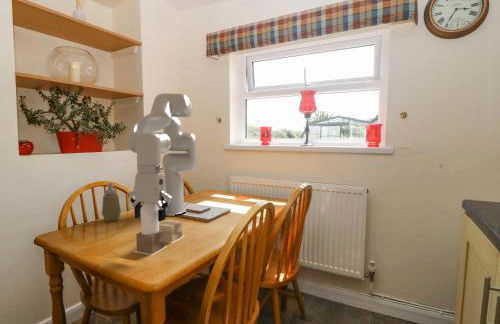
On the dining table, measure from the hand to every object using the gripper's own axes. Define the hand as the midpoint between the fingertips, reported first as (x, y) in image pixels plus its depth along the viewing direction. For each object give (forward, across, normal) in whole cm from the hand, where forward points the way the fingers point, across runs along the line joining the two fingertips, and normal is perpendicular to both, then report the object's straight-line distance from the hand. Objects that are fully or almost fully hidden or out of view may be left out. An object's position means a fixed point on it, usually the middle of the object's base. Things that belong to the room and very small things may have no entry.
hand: (150, 218), depth 96 cm
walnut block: (+11, 0, 0) cm, 11 cm away
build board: (+12, 0, -6) cm, 13 cm away
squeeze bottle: (+12, +42, -24) cm, 50 cm away
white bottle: (+5, 0, 0) cm, 5 cm away
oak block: (+11, 0, -11) cm, 15 cm away
